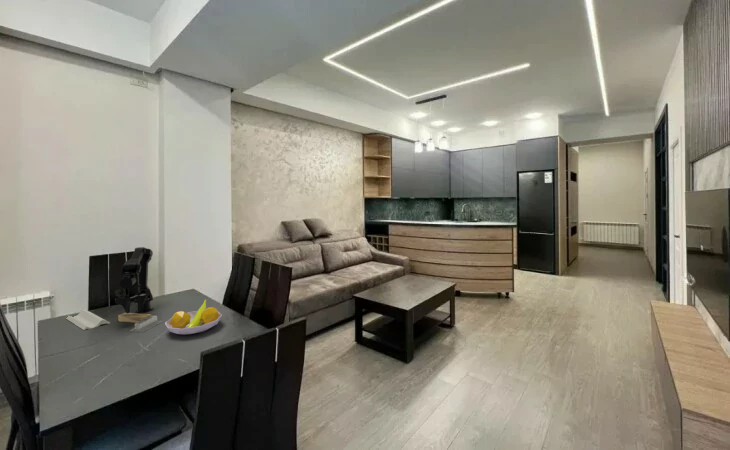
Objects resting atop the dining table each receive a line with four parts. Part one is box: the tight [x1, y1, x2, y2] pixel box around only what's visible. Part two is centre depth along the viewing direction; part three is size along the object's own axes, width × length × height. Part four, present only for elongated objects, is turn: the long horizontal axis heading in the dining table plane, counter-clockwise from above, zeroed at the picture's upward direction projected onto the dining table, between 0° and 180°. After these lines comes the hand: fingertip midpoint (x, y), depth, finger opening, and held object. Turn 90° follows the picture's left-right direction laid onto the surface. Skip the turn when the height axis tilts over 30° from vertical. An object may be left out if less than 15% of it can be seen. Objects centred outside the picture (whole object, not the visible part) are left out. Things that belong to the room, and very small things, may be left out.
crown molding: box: [65, 309, 111, 331], centre depth 177 cm, size 31×12×4 cm, turn 57°
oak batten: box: [117, 312, 152, 324], centre depth 177 cm, size 4×18×4 cm, turn 81°
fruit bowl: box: [164, 299, 223, 336], centre depth 166 cm, size 28×27×11 cm
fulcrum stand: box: [128, 314, 164, 333], centre depth 168 cm, size 14×8×4 cm, turn 175°
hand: (134, 310), depth 176 cm, fingers open, 9 cm apart
